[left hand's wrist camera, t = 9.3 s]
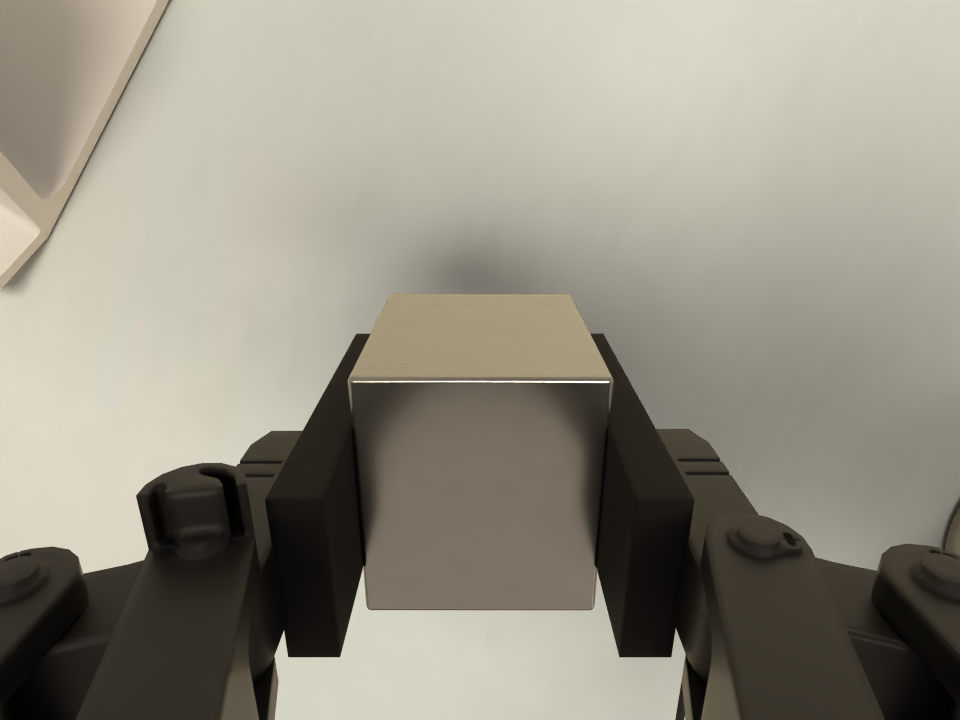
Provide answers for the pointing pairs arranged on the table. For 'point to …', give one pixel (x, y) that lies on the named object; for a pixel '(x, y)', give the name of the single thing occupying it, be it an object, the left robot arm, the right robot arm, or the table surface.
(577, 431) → the block
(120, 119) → the table surface
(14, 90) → the tablet stand
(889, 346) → the table surface
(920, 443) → the table surface
